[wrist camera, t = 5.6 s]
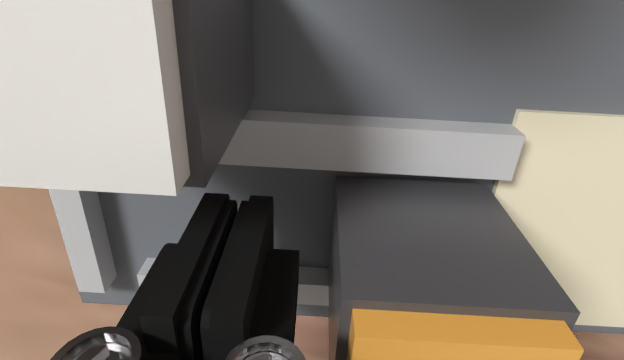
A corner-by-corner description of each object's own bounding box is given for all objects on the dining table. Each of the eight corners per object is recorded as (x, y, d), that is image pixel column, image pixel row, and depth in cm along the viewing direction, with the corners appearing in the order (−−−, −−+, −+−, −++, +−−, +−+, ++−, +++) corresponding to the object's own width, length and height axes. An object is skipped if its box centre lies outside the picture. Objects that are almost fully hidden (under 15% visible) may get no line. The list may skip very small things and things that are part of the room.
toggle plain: (254, 97, 10) (193, 209, 5) (90, 88, 10) (-110, 192, 5) (251, -43, 8) (165, -53, 4) (59, -53, 8) (-247, -75, 4)
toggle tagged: (460, 271, 12) (540, 452, 8) (328, 264, 12) (329, 440, 8) (486, 184, 11) (602, 342, 6) (336, 175, 11) (343, 327, 6)
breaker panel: (645, 303, 15) (695, 357, 13) (104, 272, 15) (69, 320, 13) (905, -138, 9) (1080, -170, 7) (-12, -186, 9) (-112, -232, 7)
